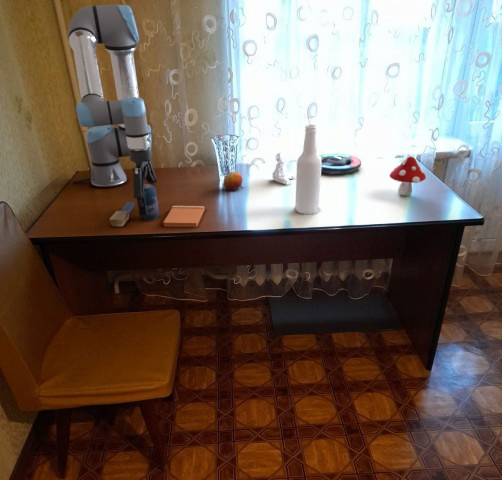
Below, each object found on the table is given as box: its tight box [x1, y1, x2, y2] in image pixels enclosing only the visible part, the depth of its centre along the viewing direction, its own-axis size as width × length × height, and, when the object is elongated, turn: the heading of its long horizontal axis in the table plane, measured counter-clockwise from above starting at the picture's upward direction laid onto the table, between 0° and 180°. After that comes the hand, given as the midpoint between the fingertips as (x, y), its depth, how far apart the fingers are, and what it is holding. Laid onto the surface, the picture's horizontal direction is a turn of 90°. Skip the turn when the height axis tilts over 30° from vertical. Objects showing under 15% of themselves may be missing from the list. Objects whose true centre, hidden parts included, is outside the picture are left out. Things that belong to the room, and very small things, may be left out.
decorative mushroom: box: [389, 156, 427, 197], centre depth 188 cm, size 14×14×15 cm
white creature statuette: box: [271, 151, 294, 185], centre depth 205 cm, size 10×9×12 cm
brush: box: [109, 201, 135, 227], centre depth 179 cm, size 5×18×3 cm, turn 174°
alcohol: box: [295, 124, 322, 215], centre depth 173 cm, size 9×9×30 cm
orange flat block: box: [162, 205, 205, 228], centre depth 177 cm, size 12×16×2 cm
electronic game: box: [318, 153, 362, 175], centre depth 221 cm, size 23×23×5 cm
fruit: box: [223, 171, 243, 192], centre depth 200 cm, size 8×8×8 cm
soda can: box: [139, 182, 160, 221], centre depth 175 cm, size 7×7×12 cm
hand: (148, 207), depth 177 cm, fingers open, 13 cm apart
